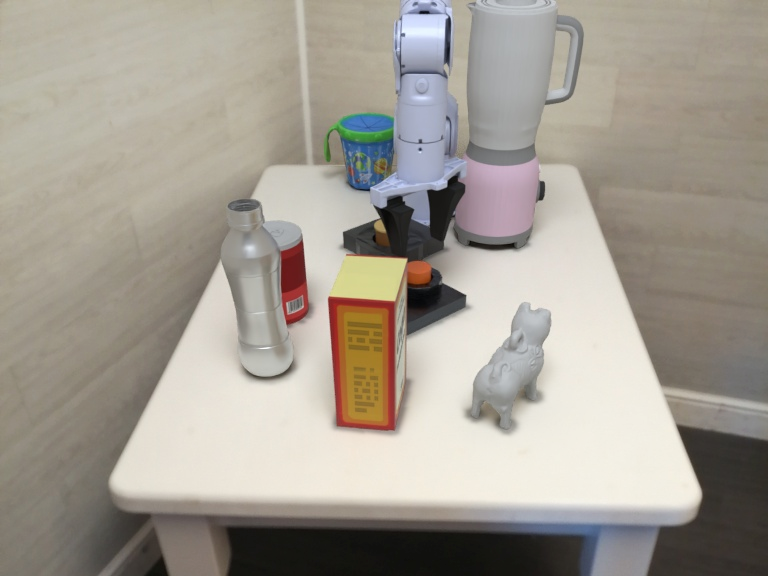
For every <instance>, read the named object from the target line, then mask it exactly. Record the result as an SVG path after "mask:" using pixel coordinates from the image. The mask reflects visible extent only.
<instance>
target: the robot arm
mask: <svg viewBox="0 0 768 576" xmlns="http://www.w3.org/2000/svg"><path fill="white" fill-rule="evenodd" d="M454 20H455V19H454V14H453V7H452V0H399V14H398V20H397V19H395V20H394V23H393V30H392V65H393V72H394V79H395V81H394V83H395V95H397V97H396V103H395V105H394V116H393V117H394V154H395V155H396V171H395V172H393V173H391V176H389V177H388V178H386V179H385V180H384V181H382V182H381V183H379V184H377V185H375V186H373V187H370V189H369V198H370V199H369V201H370V205H372V206H373V208H374V210H375V211H376V213H377V214H378V216H379V218H381V220H382V223H383V225H384V227H385V230H386V233H387V237H388V240H389V244H390V248H391V252H392V254H394V255H396V256H398V257H405V256H406V252H407V242H408V230H409V225H410V221H411V219H413V220H415V221H417V222H419V223H422V224H424V225H426V226H428V227H430V234H431V237H433V238H435V239H437V240H439V241H441V242H442V241H444V242H445V240H446V237H447V234H448V230H449V227H450V224H451V221H452V218H453V216H454V217H455V216H456V207H457V205H458V203H459V201H460V199H461V198H462V196H463V195H464V194H465V188H466V185H465V184H463V183H461V182H459V181H458V178H459V179H462V178H465V177H466V173H467V161H464V160H462V158H459V157H457V155H456V154H457V151H458V138H459V103H458V101H457V100H458V99H457V98H456V97H455V96H454V95H453V94H451V93H450V92H449V91H448V88H449V87H448V85H449V76H451V73H452V69H453V63H454V43H455V21H454ZM445 65H447V67H448V73H447V71H446V70H445Z"/></svg>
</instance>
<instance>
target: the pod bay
mask: <svg viewBox="0 0 768 576" xmlns="http://www.w3.org/2000/svg"><path fill="white" fill-rule="evenodd" d="M378 220H381V218H380V217H378V218H376V219H374V220H371V221H368V222H366V223H363V224H360V225H358V226H354V227H353V228H352V227H351V228H350V229H347V230H344V231H342V244H343V245H342V246H343V248H344V249H346V250H348V251H350V252H352V253H353V254H355V255H371V256H387V257H398V256H396V255H394V254H392V252H391V248H390V246H383V245H378V244H377V243H376V230H375V228H374V224H375V222H377V221H378ZM444 249H445V240H444V241H442V242H441V241H439V240H437V239H435V238H433V237H431V234H430V226H426V225H424V224H422V223H419V222H417V221H415V220H413V219H411V221H410V225H409V230H408V242H407V252H406V256H405V257H404V258H408V263H409V262H412V261H423V259H424V258H427V257H429V256H431V255H434V254H437V253H438V252H441V251H443V250H444Z"/></svg>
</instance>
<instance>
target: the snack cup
mask: <svg viewBox="0 0 768 576" xmlns="http://www.w3.org/2000/svg"><path fill="white" fill-rule="evenodd" d="M334 131H336V132H337V133H338V136H339V138H340V144H341V150H342V154H343V161H344V166H345V171H346V178H347V181H348V183H349V184H350V185H351V186H352V187H353V188H355V189H356V190H357V189H361V190H370V187H373V186H375V185H377V184H379V183H381V182H382V181H384V180H385V179H386V178H388V177H389V176H391V175H392V171H393V162H394V155H395V152H394V116H391V115H388V114H384V113H379V112H378V113H377V112H358V113H353V114H348V115H345V116H343V117H341V118H340V119H338V121H337V122H336V123H335V122H334V124H333V125H331V126H330V128H329V129H328V130H327V132H326V135H325V138H324V140H323V141H324V143H323V153H324V158H325V162H327V163H330V162H331V161H332V160H331V159H332V156H331V155H332V154H331V150H330V149H331V148H330V142H329V139H330V135H331V133H332V132H334Z"/></svg>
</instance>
